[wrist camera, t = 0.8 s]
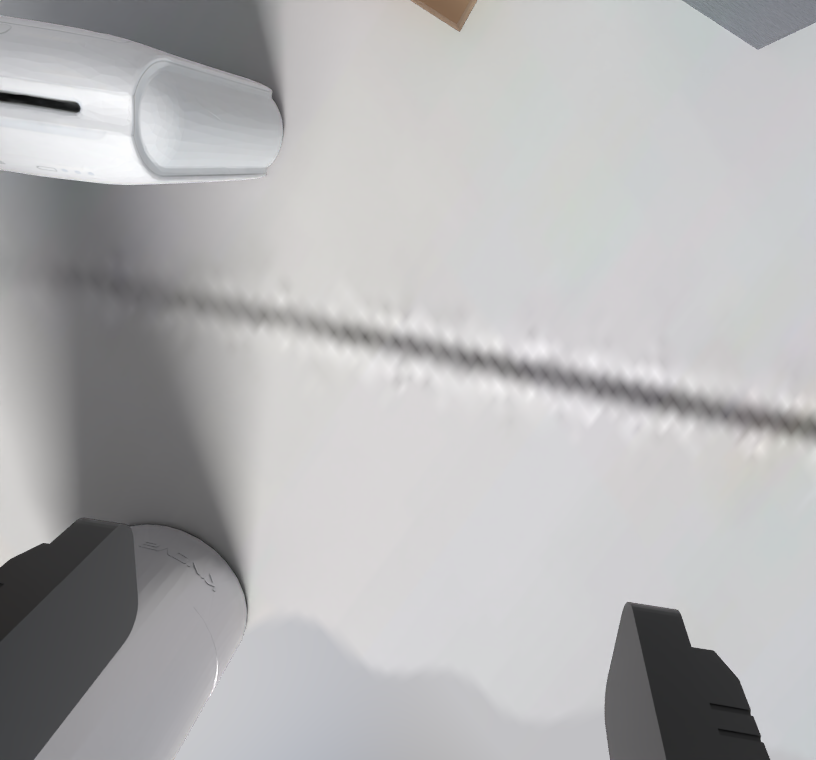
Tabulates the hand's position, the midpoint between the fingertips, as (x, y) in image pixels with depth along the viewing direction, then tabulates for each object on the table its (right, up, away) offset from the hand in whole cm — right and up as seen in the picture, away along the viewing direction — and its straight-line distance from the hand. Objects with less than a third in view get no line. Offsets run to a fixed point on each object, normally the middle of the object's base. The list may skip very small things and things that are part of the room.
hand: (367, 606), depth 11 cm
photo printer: (-9, +15, +19) cm, 26 cm away
